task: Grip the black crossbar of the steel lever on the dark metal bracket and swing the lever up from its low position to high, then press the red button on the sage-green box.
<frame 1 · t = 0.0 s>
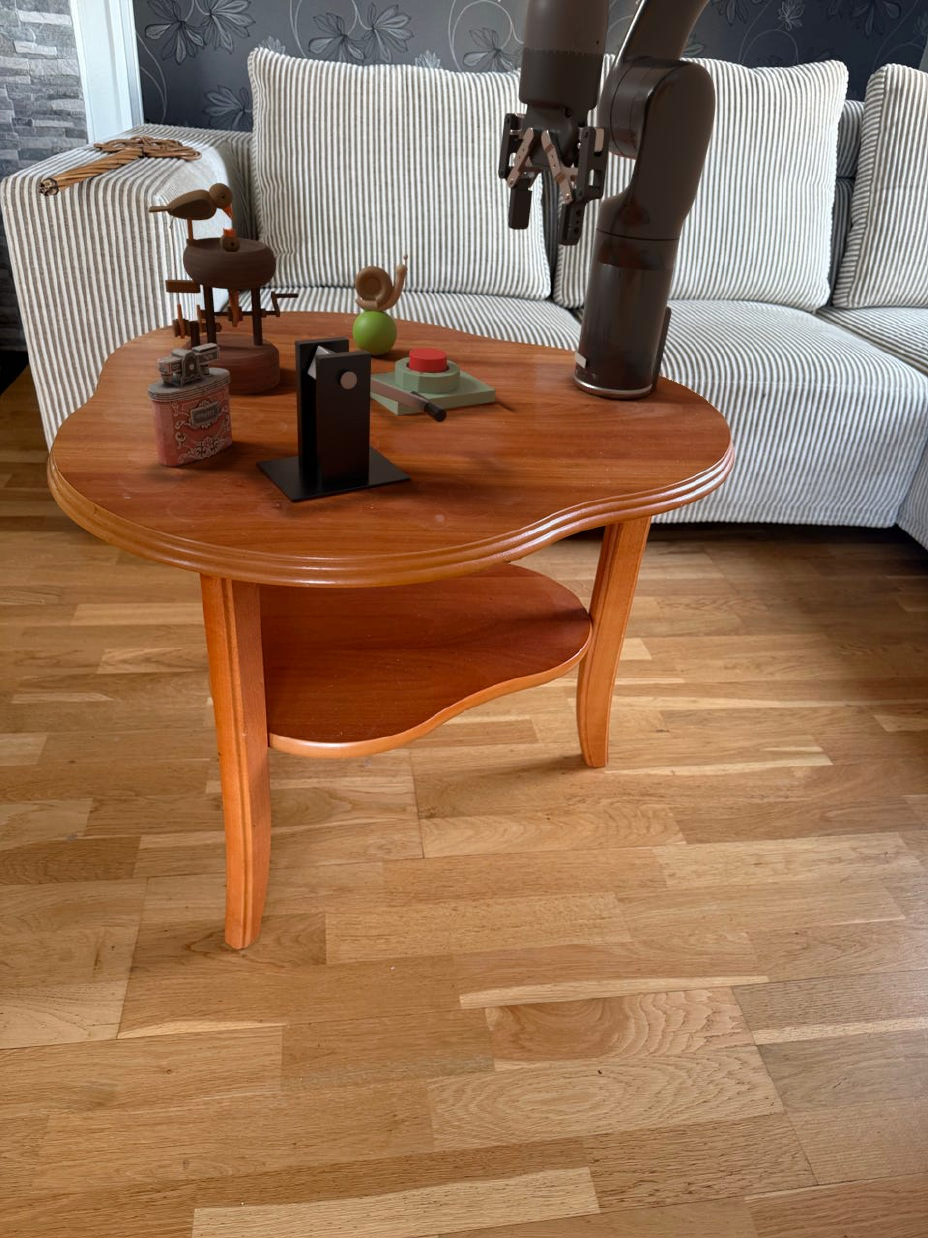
hand: (541, 236, 89), 17 cm above the table, tool pointing down, fingers open, 8 cm apart
button: (428, 361, 92), point 4 cm above the table, slide at 0.1 cm
snail figurine: (378, 356, 108), on the table
button box: (425, 402, 95), on the table
lighter: (198, 464, 77), on the table
bird automaton: (238, 379, 97), on the table
lever: (378, 387, 74), point 8 cm above the table, hinge at -25.0°
bracket: (333, 482, 76), on the table
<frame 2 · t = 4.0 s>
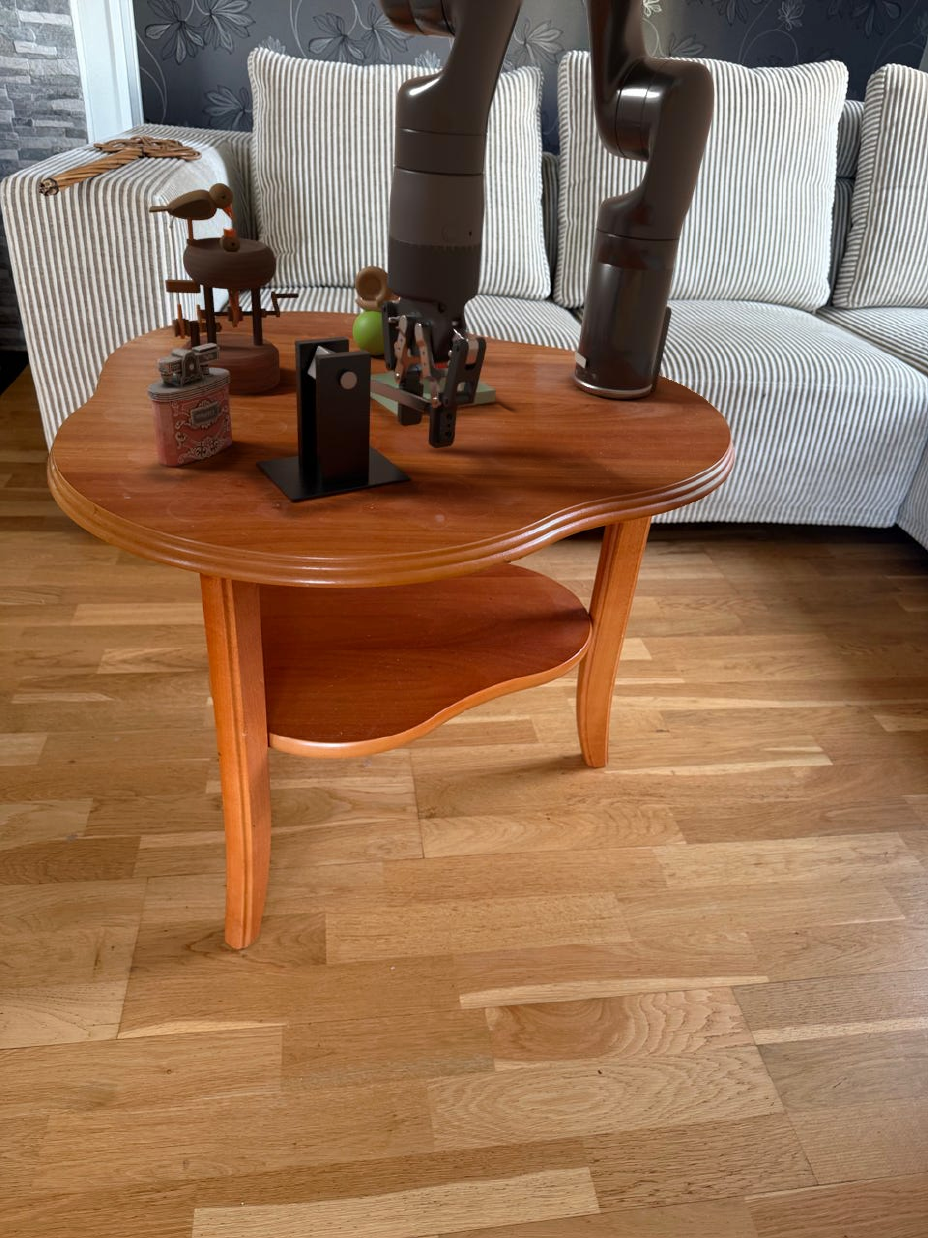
hand: (424, 433, 79), 3 cm above the table, tool pointing down, fingers closed on lever, 5 cm apart
lever: (378, 387, 74), point 8 cm above the table, hinge at -25.1°, touching gripper
everything else where it was.
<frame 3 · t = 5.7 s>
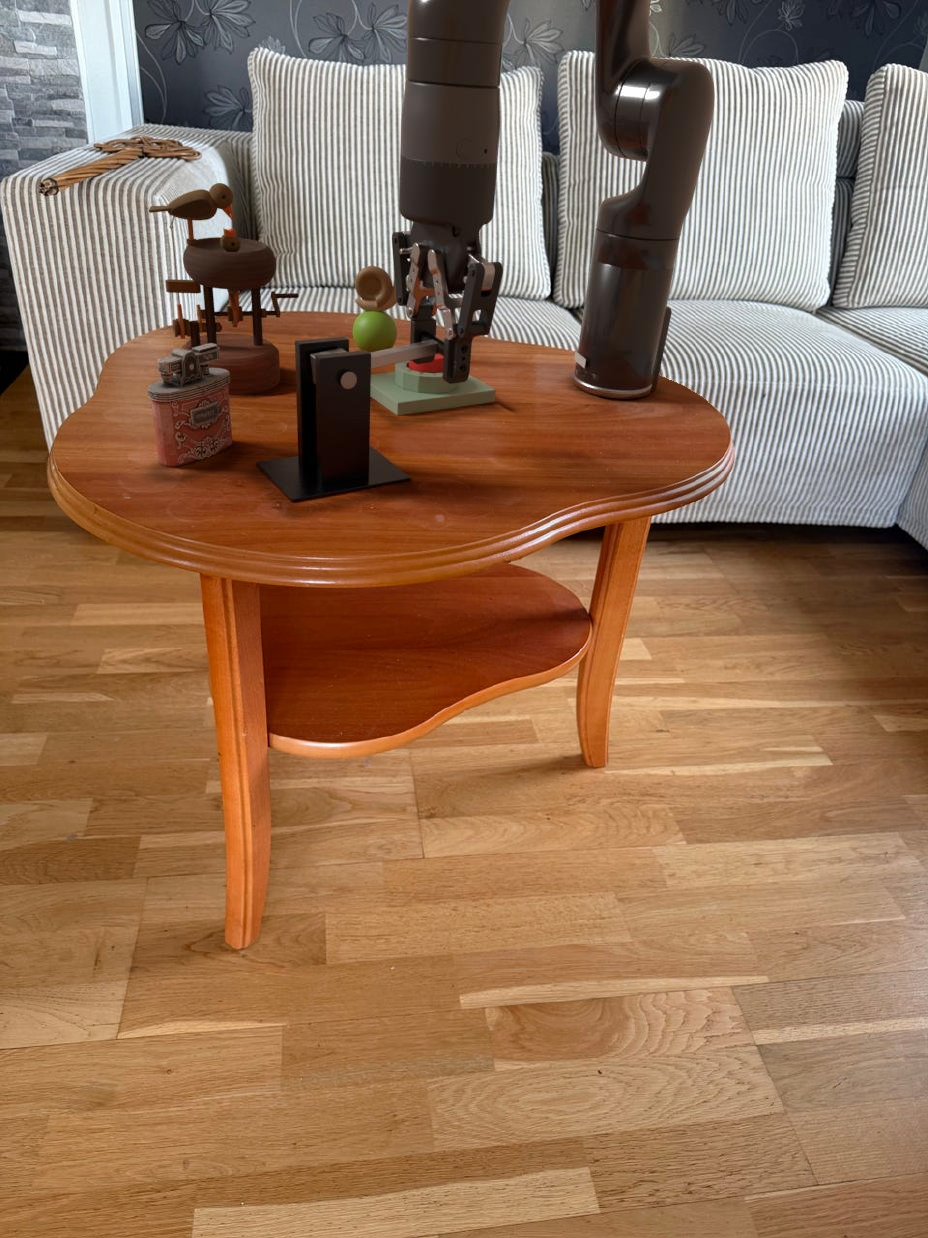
hand: (438, 370, 76), 9 cm above the table, tool pointing down, fingers closed on lever, 5 cm apart
lever: (383, 358, 72), point 10 cm above the table, hinge at 6.0°, touching gripper
everything else where it was.
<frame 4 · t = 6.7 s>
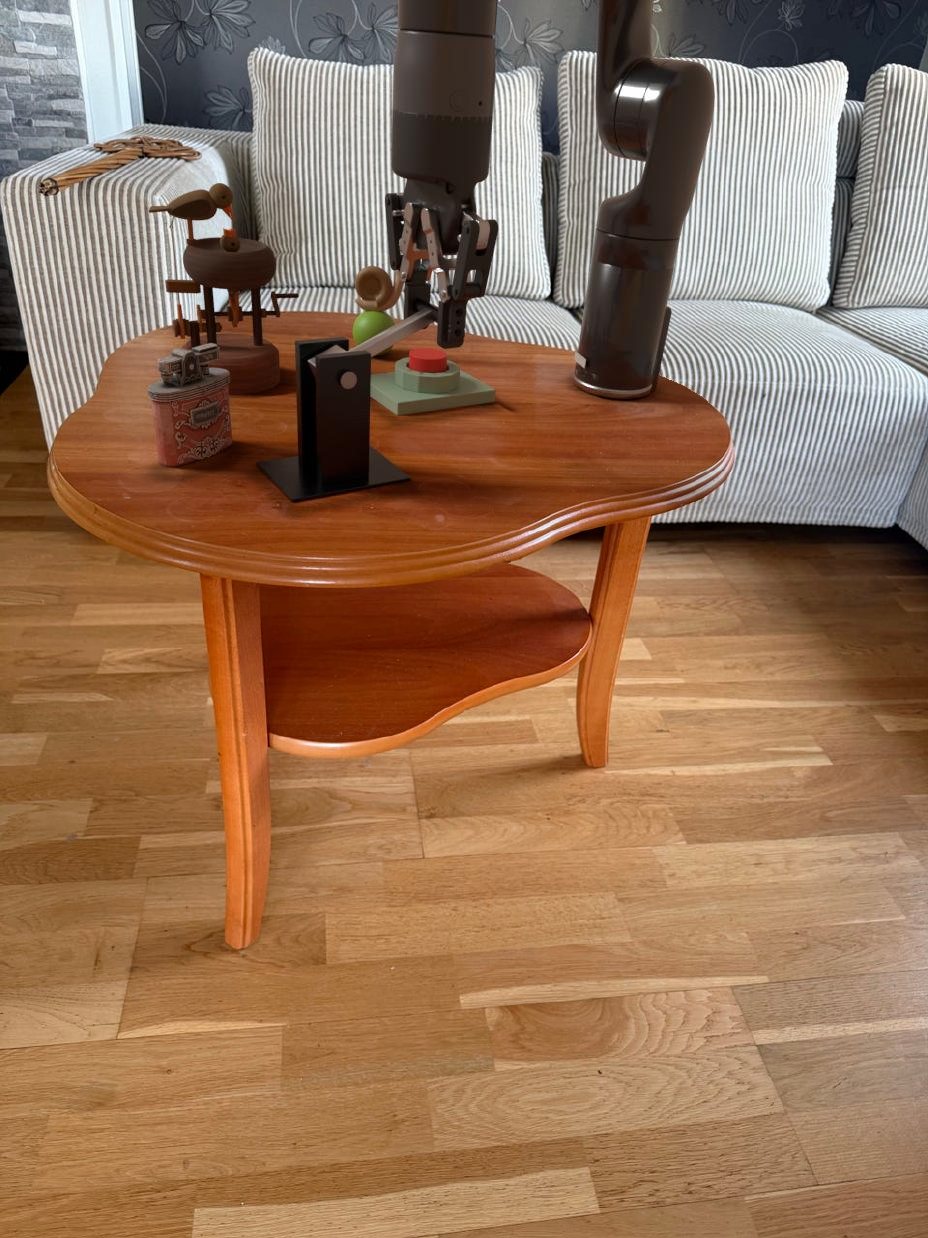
hand: (432, 336, 74), 12 cm above the table, tool pointing down, fingers closed on lever, 5 cm apart
lever: (379, 342, 72), point 12 cm above the table, hinge at 22.6°, touching gripper
everything else where it was.
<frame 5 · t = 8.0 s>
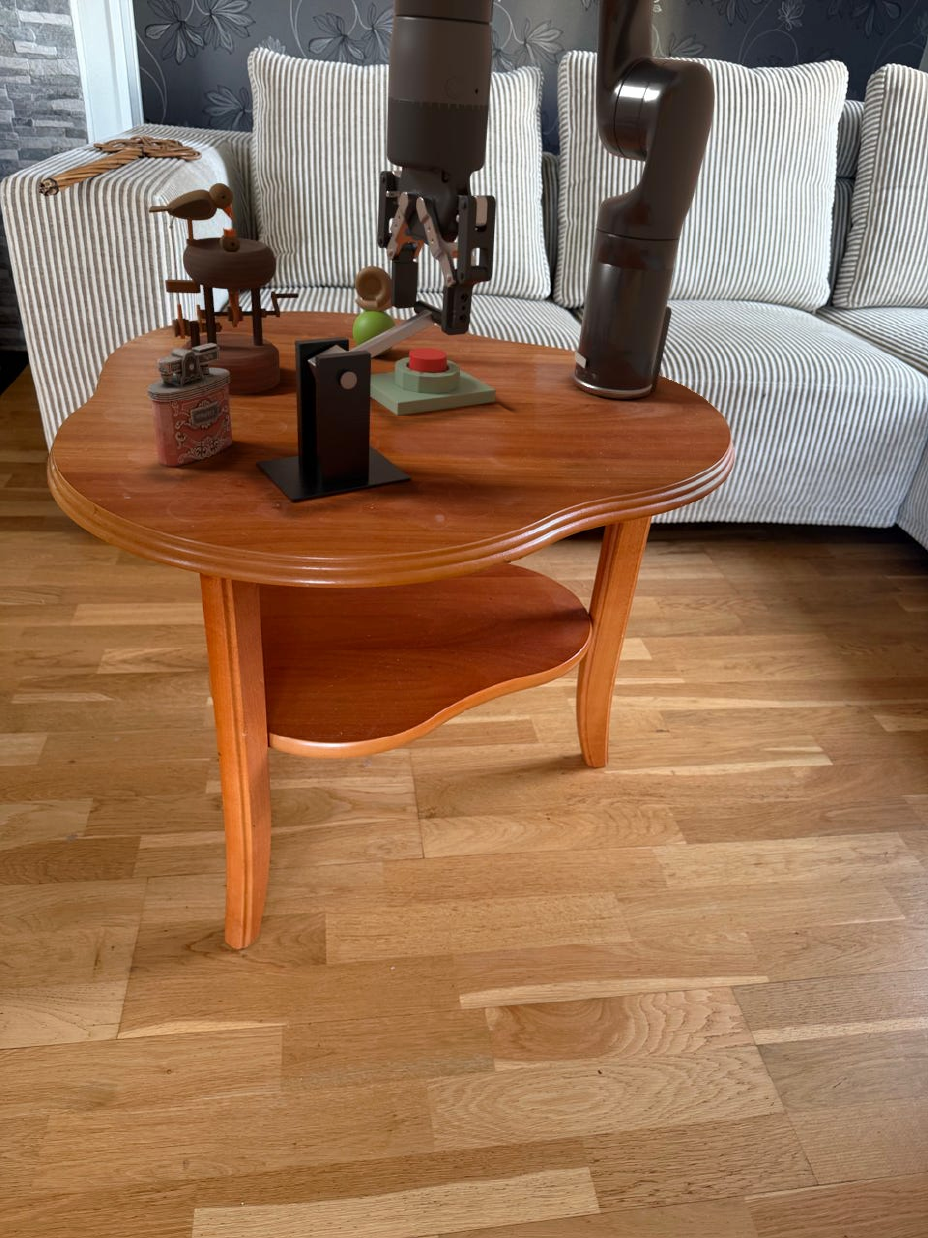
hand: (427, 319, 73), 13 cm above the table, tool pointing down, fingers open, 8 cm apart
lever: (380, 343, 72), point 12 cm above the table, hinge at 21.8°
everything else where it was.
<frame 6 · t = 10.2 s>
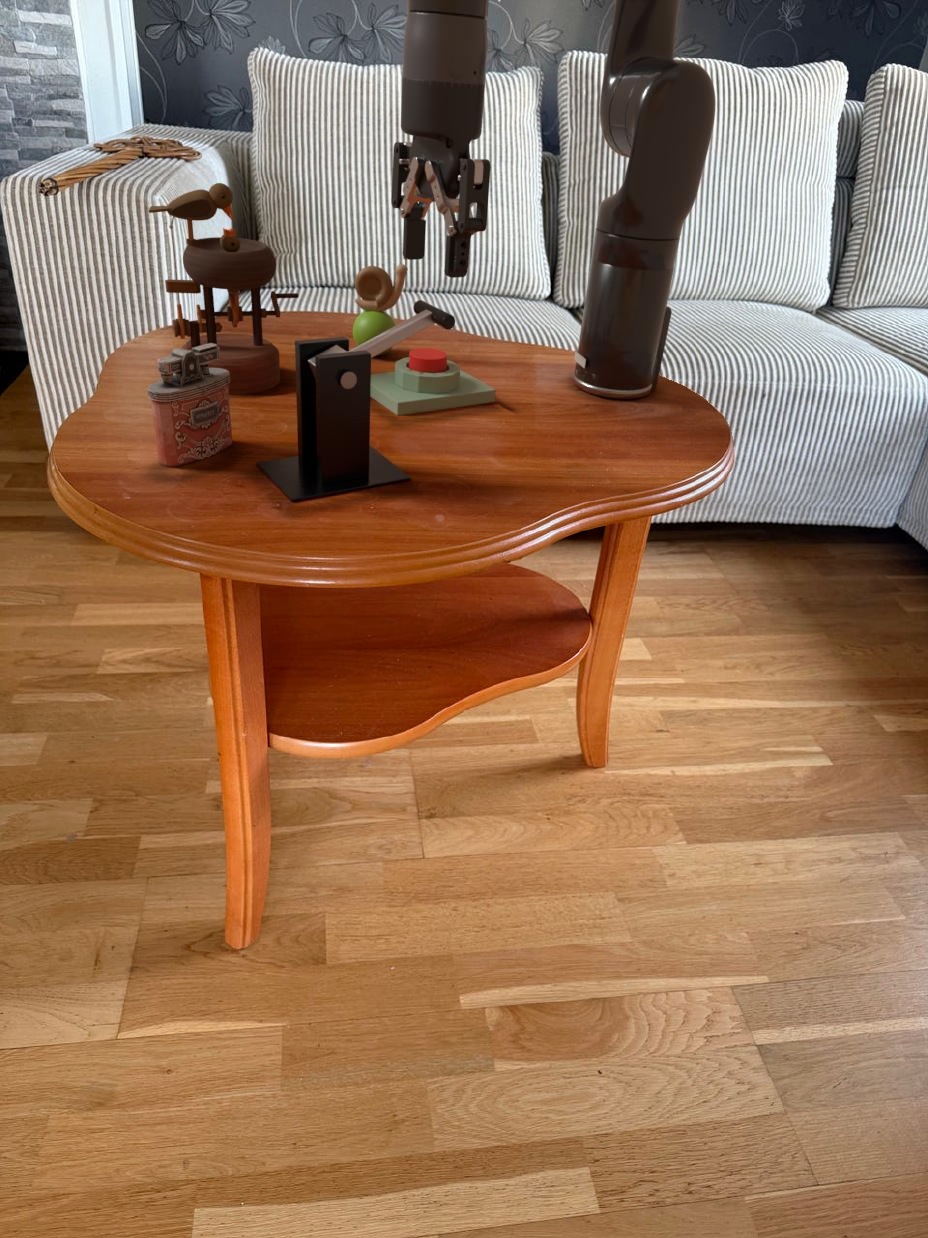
hand: (433, 267, 87), 14 cm above the table, tool pointing down, fingers open, 8 cm apart
nothing on the table moved.
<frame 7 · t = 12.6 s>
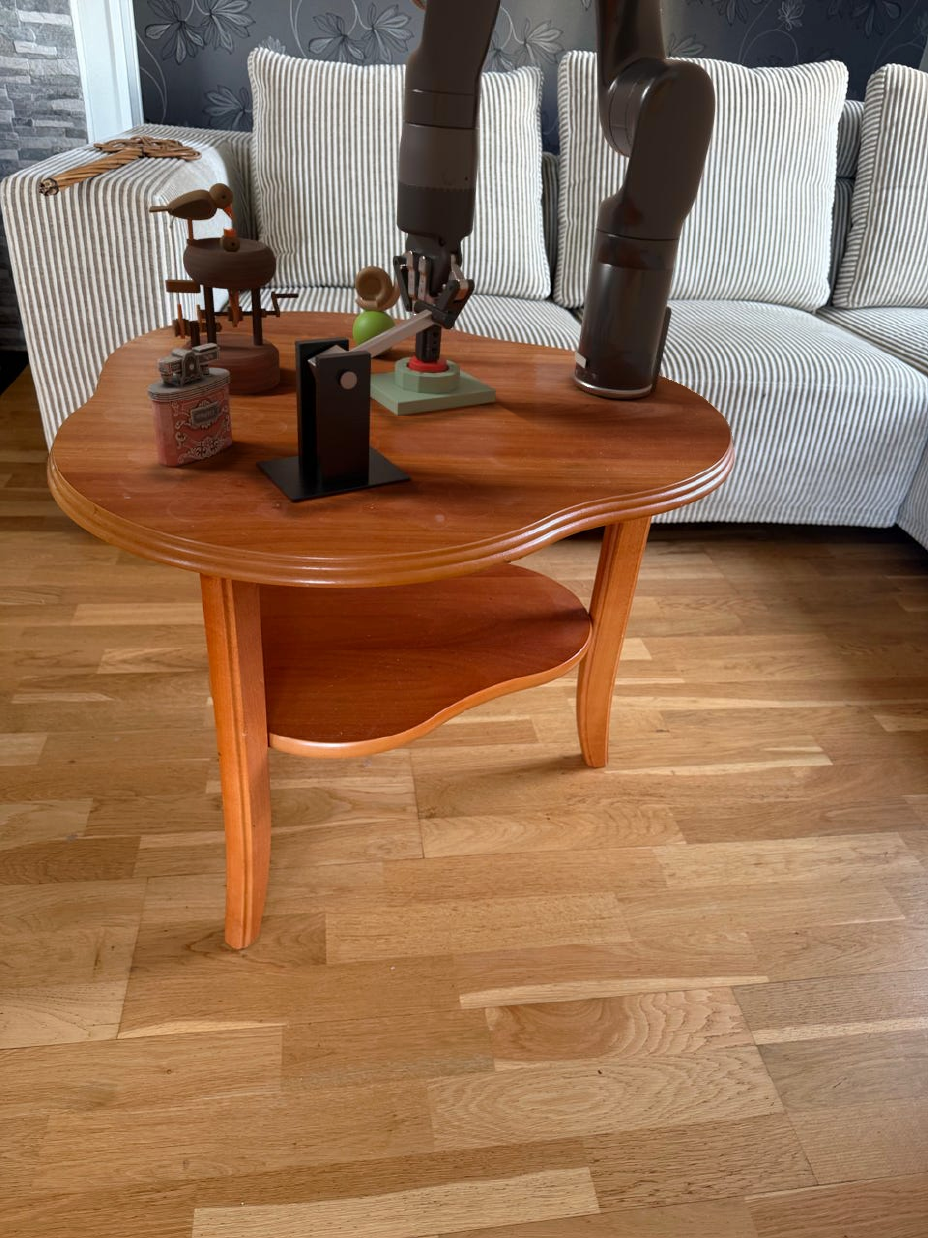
hand: (426, 359, 92), 5 cm above the table, tool pointing down, fingers closed
button: (427, 368, 93), point 4 cm above the table, slide at -0.6 cm, touching gripper
everything else where it was.
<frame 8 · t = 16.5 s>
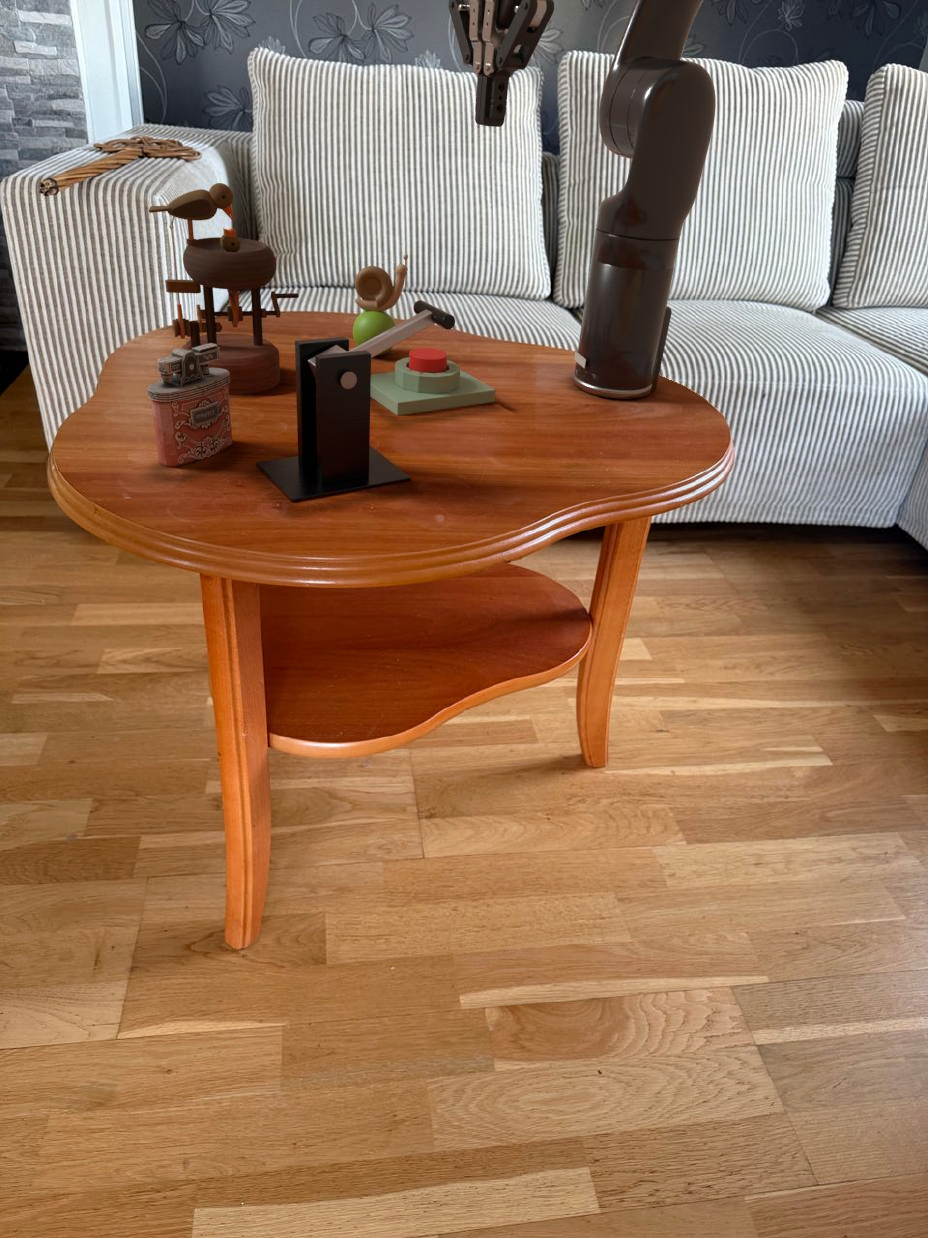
hand: (489, 125, 78), 27 cm above the table, tool pointing down, fingers closed
button: (428, 361, 92), point 4 cm above the table, slide at 0.1 cm
everything else where it was.
at the end: lever at +22° (first picture: -25°); button pushed in 1.1 cm at the most during the clip, back to where it started at the end; button slide at 0.1 cm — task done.
